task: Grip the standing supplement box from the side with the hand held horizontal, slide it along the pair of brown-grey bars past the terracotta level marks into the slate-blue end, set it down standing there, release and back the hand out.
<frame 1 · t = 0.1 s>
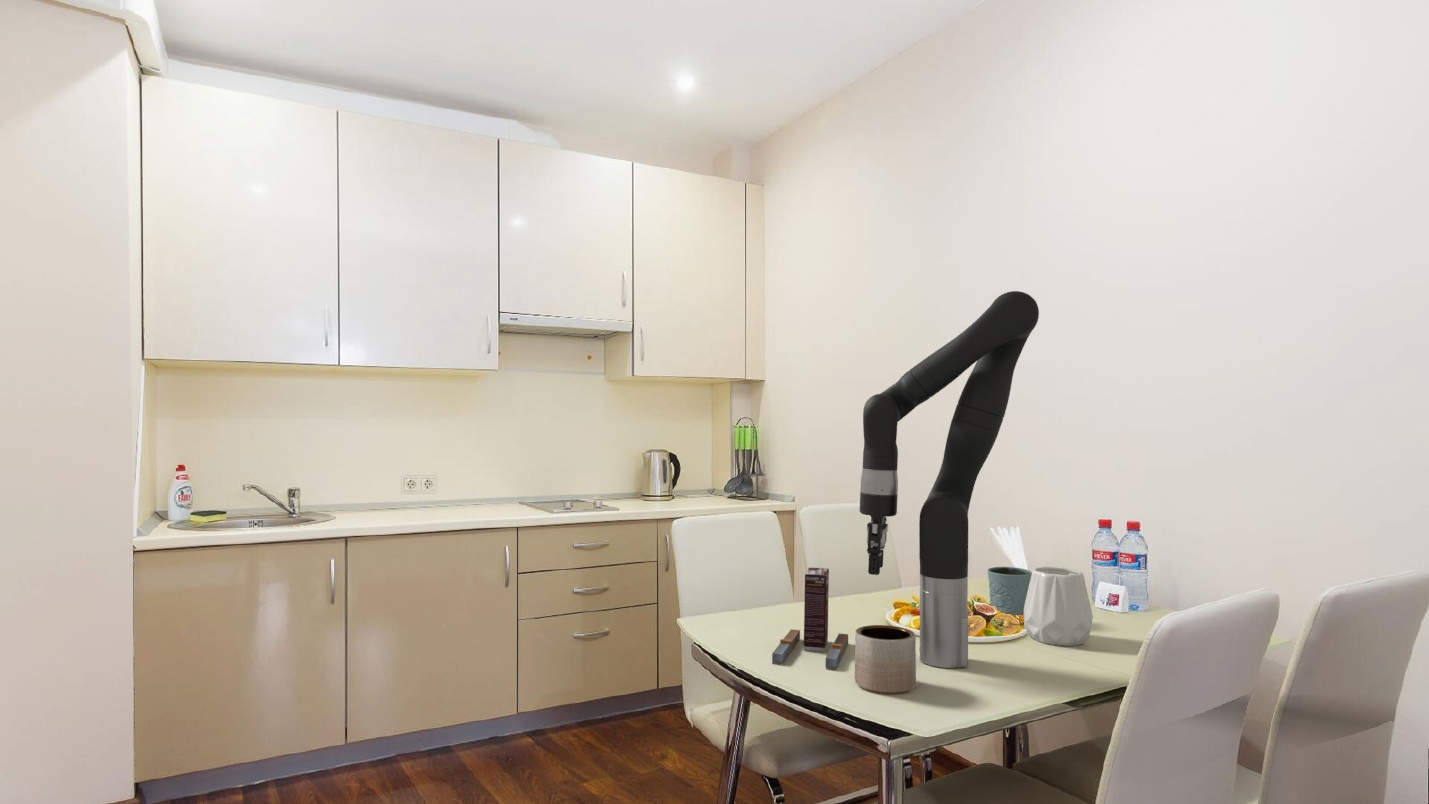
hand: (875, 570, 163), 17 cm above the table, tool pointing down, fingers open, 8 cm apart
vase: (1057, 640, 176), on the table
pair of brown-grey bars: (811, 653, 164), on the table
planter: (885, 686, 145), on the table
supplement box: (816, 647, 169), on the table
teal embossed flower pot: (1009, 621, 193), on the table
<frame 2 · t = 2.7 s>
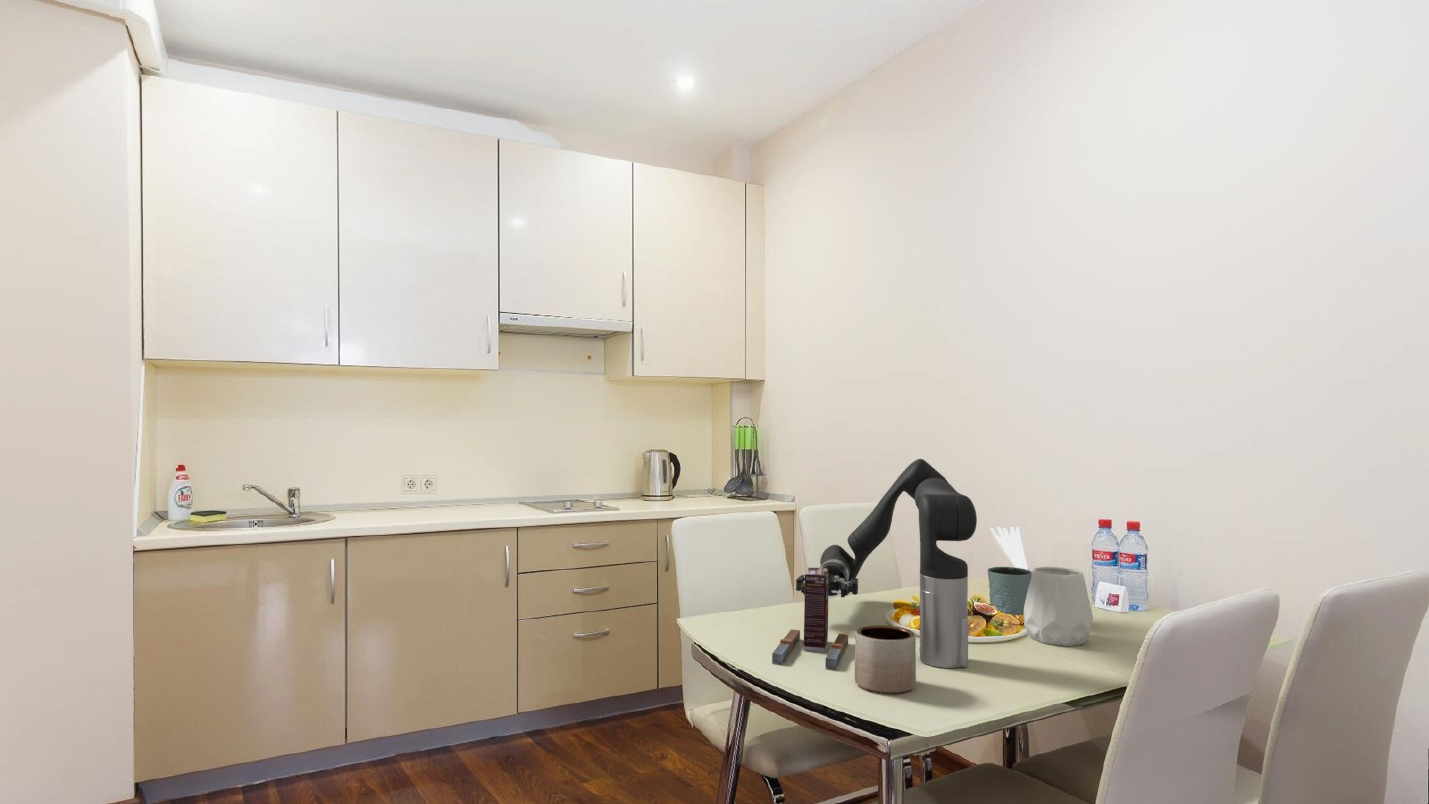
hand: (823, 591, 180), 9 cm above the table, tool horizontal, fingers open, 8 cm apart
nothing on the table moved.
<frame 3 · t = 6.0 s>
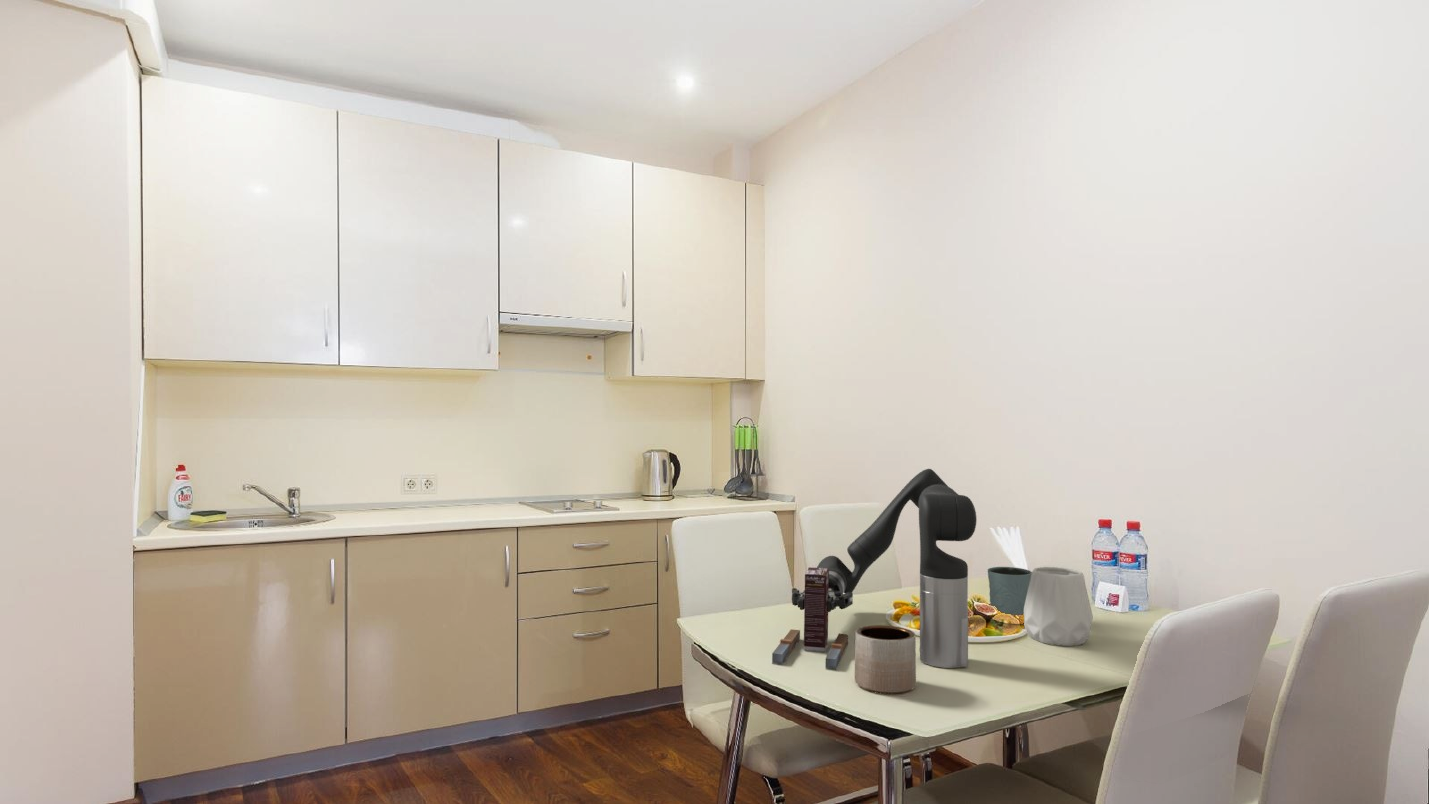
hand: (814, 605, 167), 9 cm above the table, tool horizontal, fingers closed on supplement box, 5 cm apart
supplement box: (816, 646, 169), on the table, touching gripper
everything else where it was.
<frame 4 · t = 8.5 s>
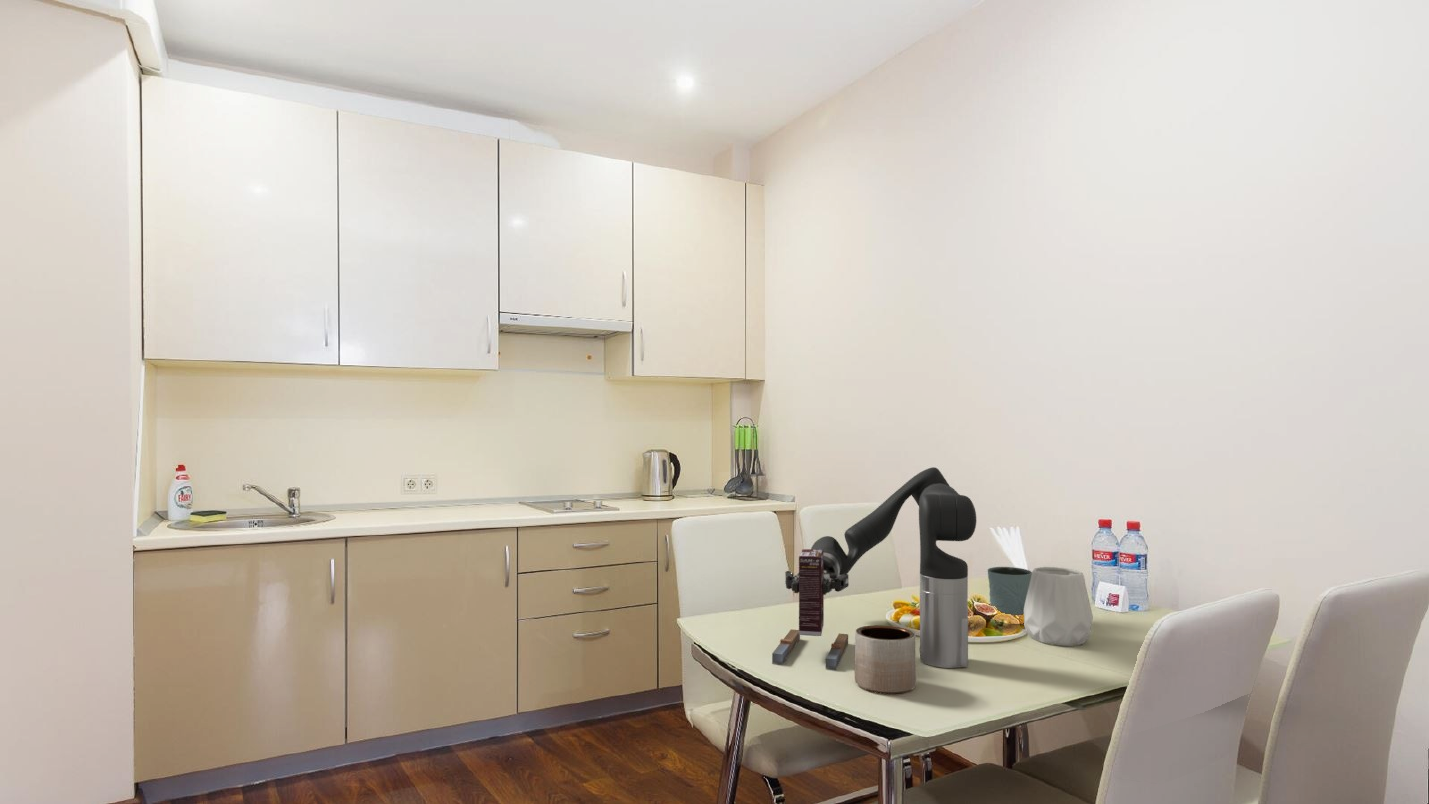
hand: (809, 588, 161), 14 cm above the table, tool horizontal, fingers closed on supplement box, 5 cm apart
supplement box: (811, 631, 164), point 5 cm above the table, touching gripper
everything else where it was.
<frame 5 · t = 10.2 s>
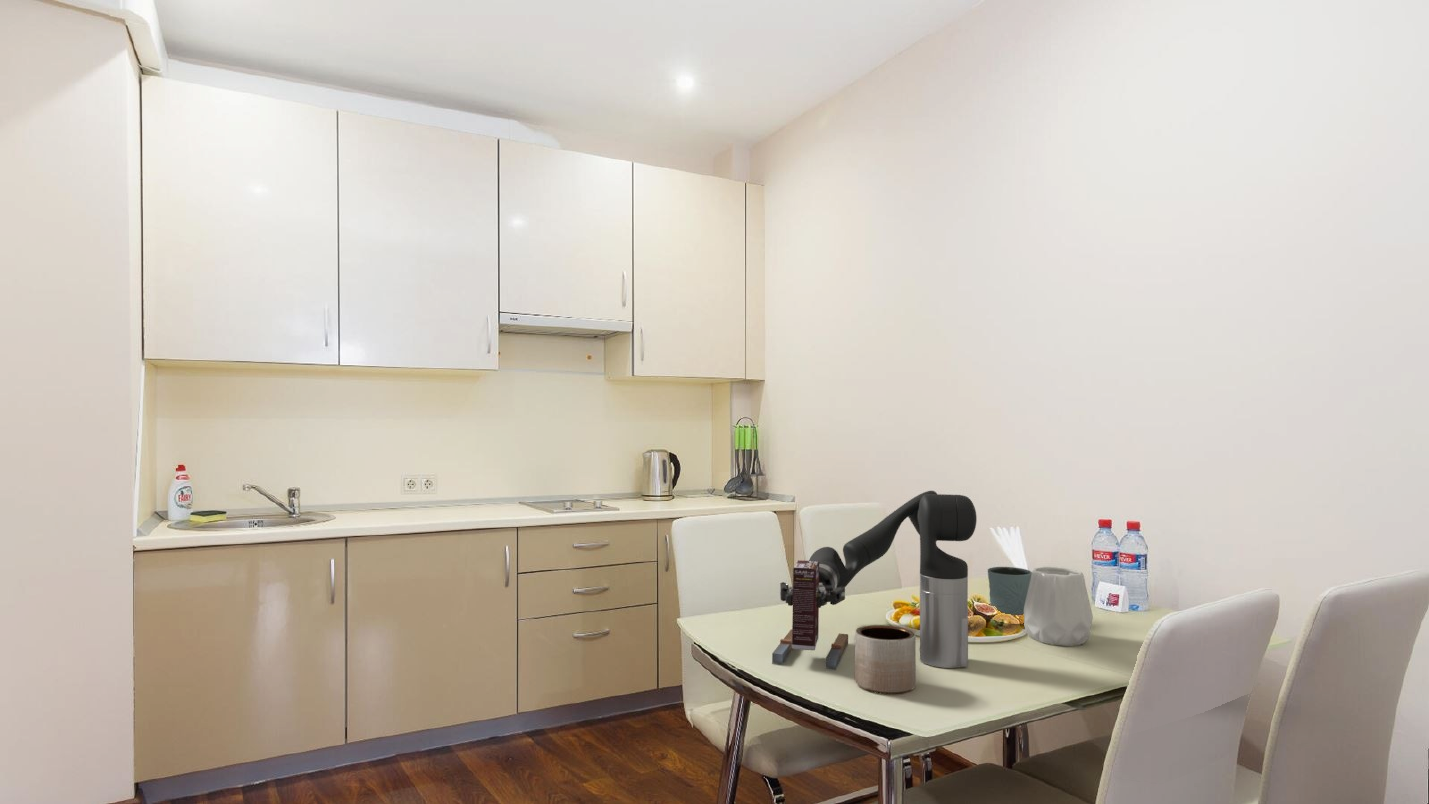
hand: (803, 601, 157), 12 cm above the table, tool horizontal, fingers closed on supplement box, 5 cm apart
supplement box: (805, 645, 159), point 3 cm above the table, touching gripper
everything else where it was.
when the fingers open (9 cm above the table, at t = 11.3 s): supplement box stays where it is, on the table.
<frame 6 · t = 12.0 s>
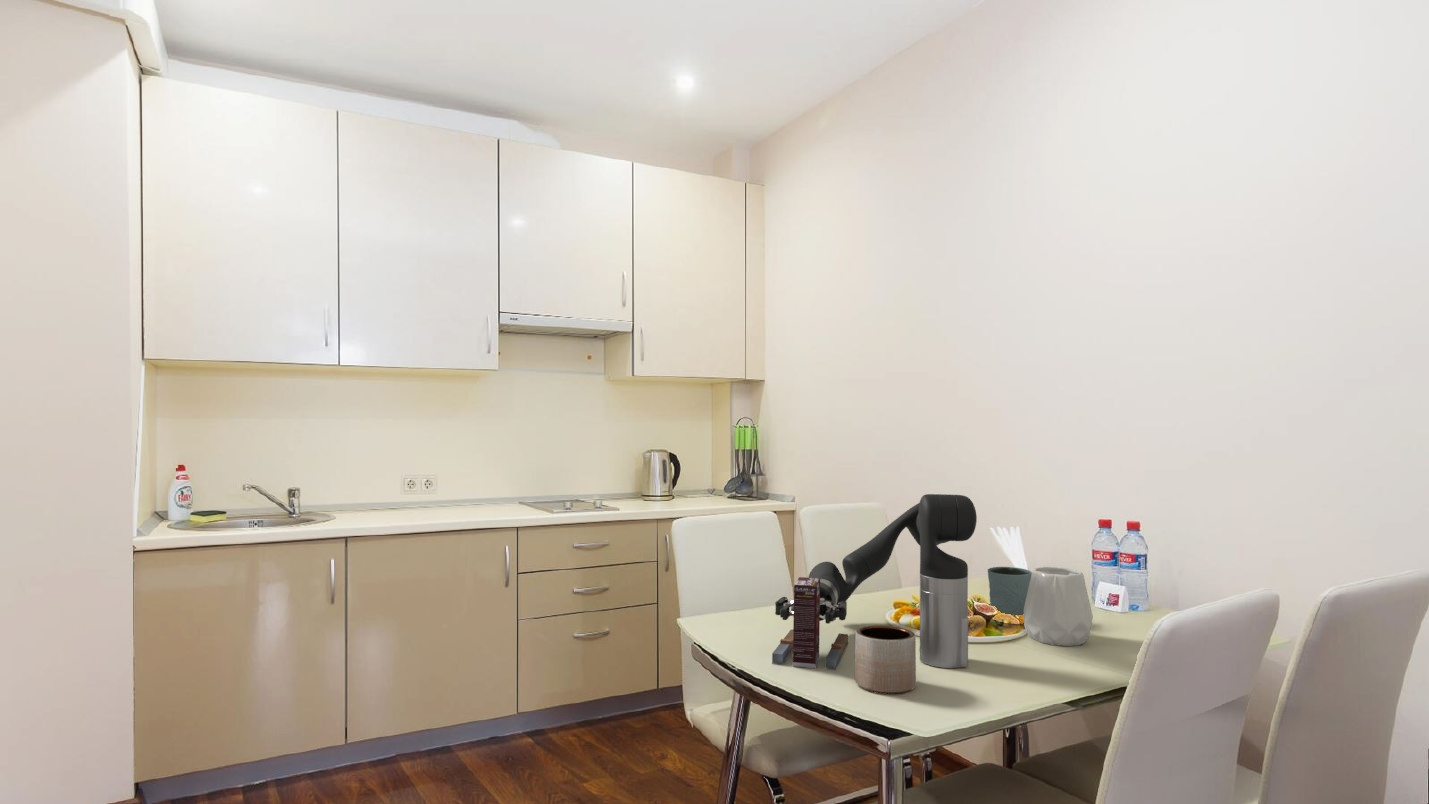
hand: (805, 616, 157), 9 cm above the table, tool horizontal, fingers open, 8 cm apart
supplement box: (806, 662, 159), on the table
everything else where it was.
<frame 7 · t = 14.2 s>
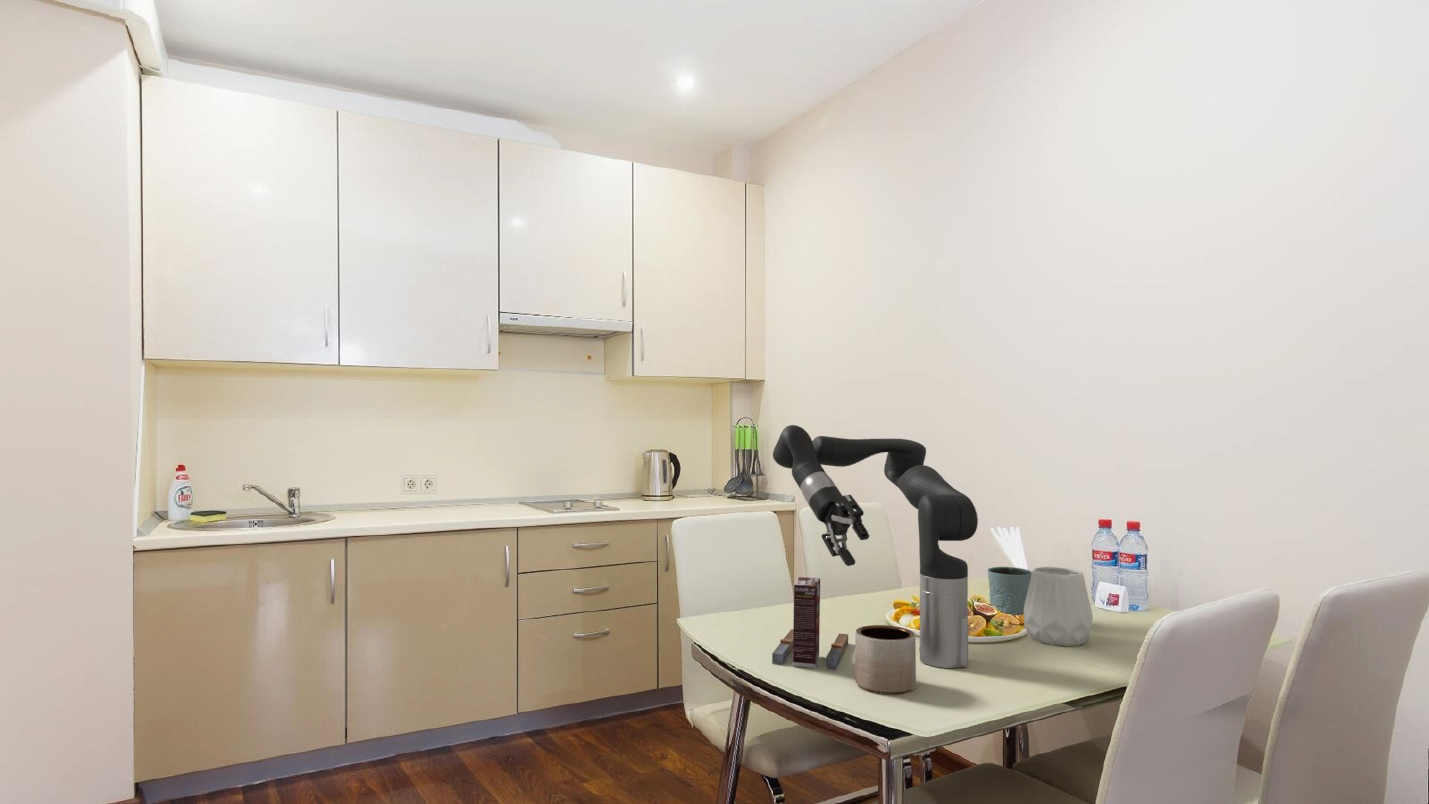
hand: (858, 551, 170), 20 cm above the table, tool tilted 50°, fingers open, 8 cm apart
nothing on the table moved.
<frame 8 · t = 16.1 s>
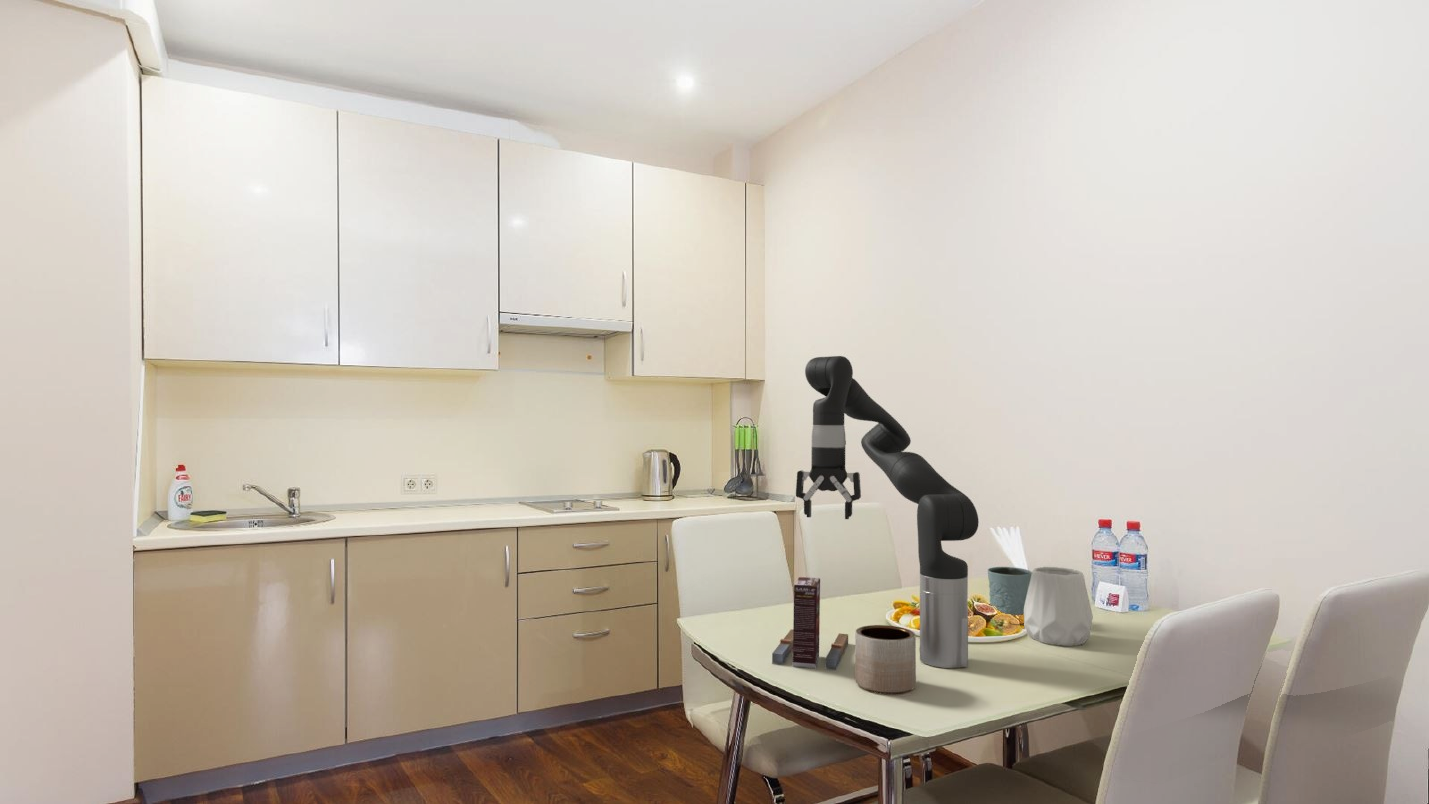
hand: (828, 518, 178), 26 cm above the table, tool pointing down, fingers open, 8 cm apart
nothing on the table moved.
at the end: supplement box inside the target area (0.6 cm from its centre), on the table; supplement box tilted 0°; the gripper is holding nothing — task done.
